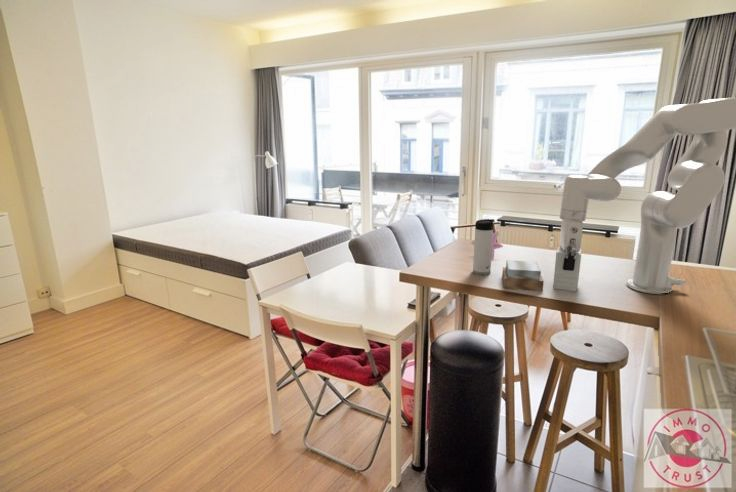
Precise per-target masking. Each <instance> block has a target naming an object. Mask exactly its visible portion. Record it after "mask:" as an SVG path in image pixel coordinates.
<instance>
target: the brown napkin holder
mask: <svg viewBox="0 0 736 492" xmlns="http://www.w3.org/2000/svg"><path fill="white" fill-rule="evenodd" d="M505 263H506V264H505V267H504V266H503V267H502V275H501V276H502V283H503V284H502V285H503V288H504V289H505V290H518V289H521V291H535V292H536V291H537V292H543V290H544V278H543V276H542V271H541V269H540V266H539V263H538V262H537V261H531V260H530V261H528V260H527V261H526V260H512V259H511V260H510V259H508V260H506V262H505Z"/></svg>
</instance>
